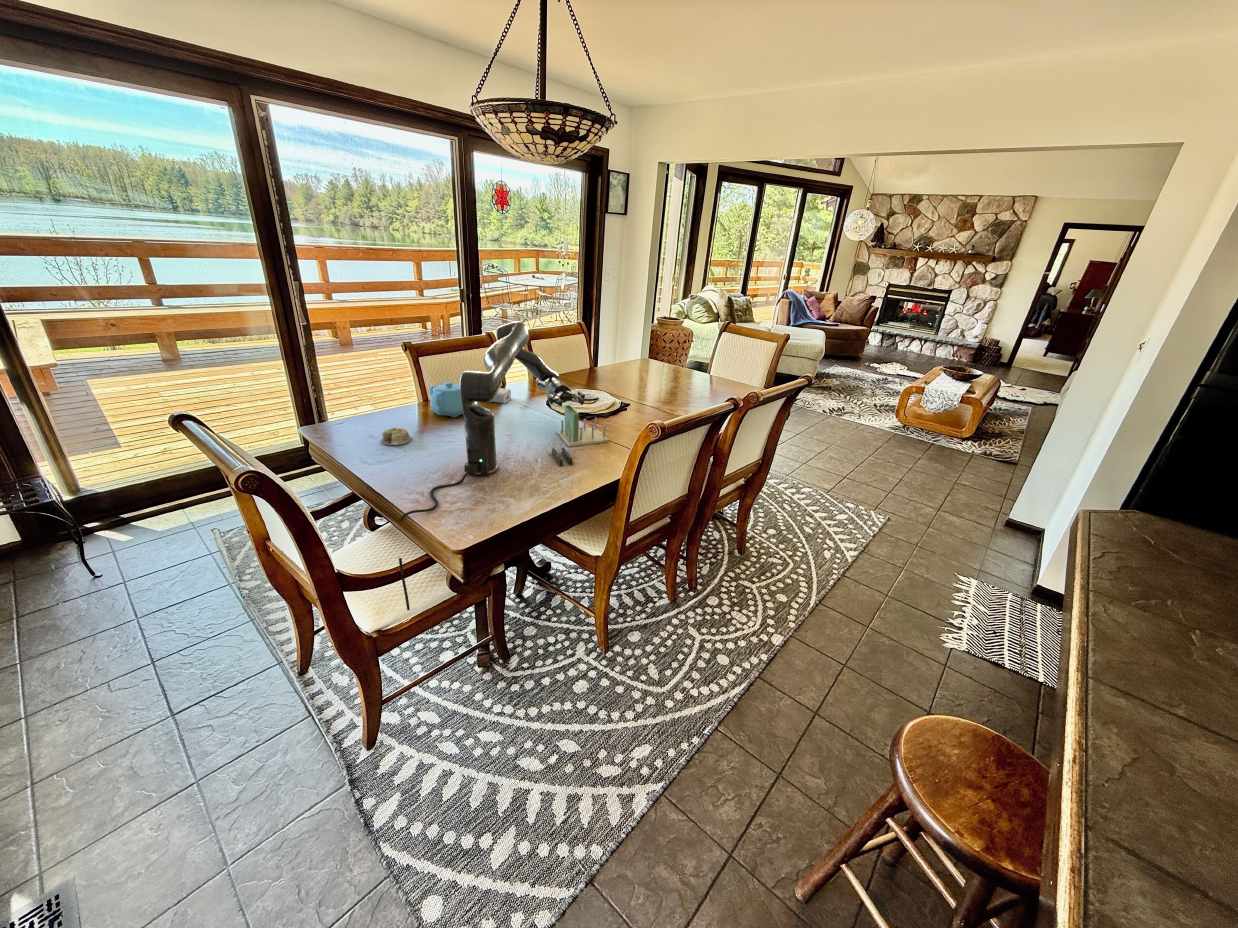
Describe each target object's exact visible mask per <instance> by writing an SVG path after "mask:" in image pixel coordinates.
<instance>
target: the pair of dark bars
mask: <svg viewBox="0 0 1238 928" xmlns="http://www.w3.org/2000/svg"><path fill="white" fill-rule="evenodd" d="M551 455H552V457H553V458H554V460H555V461H556V462H557V464H558V465H559V466H560V467H563V464H564V462H563V461H564V459H565V460H566V462H567V463H568V464H569V465H570V466H572V465H573V457H572V456H571V455H570V453H569V452H568V451H567V449H566V448H565V447H564V446H562V447H561V455H562V457H564V459H563V458H562V457H561V455H560V454H559V452H558V451H557V450H556V449H555V448H554V447H553V448H551Z"/></svg>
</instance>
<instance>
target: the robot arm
mask: <svg viewBox="0 0 1238 928" xmlns="http://www.w3.org/2000/svg"><path fill="white" fill-rule="evenodd" d="M495 337H496V341H495V342H494V343H493V344H491V345H490V346H489V348H488V349H487V350H486V352H485V353H484V356H483V365H484V367H485V368H484V369H485V370H486V371H475V370H464V371H463V372H462V373H461V374H460V377H459V383H458V384H459V388H460V396H461V403H462V412H463V414H462V416H463V423H464V433H465V434H464V435H465V446H466V459H467V462H465V464H464V466H463V467H464V472H465V473H464V475H463V476H462V477H461V479H460V480H458V481H457V482H454V483H450V484H442V485H437V486H434V487H432V488H431V490H430V491H429V496H430V497H431V499H432V500H433V501H434V505H433V506H431V507H430V508H425V509H423V508H422V509H414V510H410V511H407V512H406V513H404V514H402V516H400V518H399V519H398V521H399V522H402V521H403V520H404V519H405V518H406V517H407V516H409V515H411V514H418V513H426V512H432V511H434V510H436V509H437V507H438V506H439V501H438V500H437V498H436V497H435V495H434V494H433V492H434V491H436V490H438V489H443V488H448V487H453V486H458V485H460V484H462V483H463V482H464V481H465V479H466V477H467V476H468V475H470V476H480V477H481V476H482V477H488V476H489V475H492V474H494V473H496V472H497V470H498V464H497V463H498V462H497V447H496V446H497V445H496V429H495V428H496V427H495V426H496V425H495V414H494V412H493V410H490V409H489V408H486V407H485V406H483V405H481V404H480V403H492V402H491V401H493V400H494V399H495V397H496V396H497V393H498V391H499V388H501V385H502V384H503V383H502V382H503V380H504V379H505V377H506V375H507V373H508V372H509V370H510V369H511V367H512V365H513V364H514V362H515V360H517V361H518V362H519V363H521V364H522V366H524V367H525V368H526V369H527V370H528V371H529V373H530V374H531V375H532V376H533V377H534V378H536V380H535V385H536V387H537V389H538V390H540V391H541V392H542V393H546V400H547V402H548V403H549V404H550V405H553V404H555V405H557V406H558V407H560V408H561V407H563V404H565V403H567V402H571V403H578V404H579V405H580V406H583V405H584V404H585V402H586V395H585V394H584V393H583V392H581V391H576V392H572V390H571V388H570V387H569V386H568V385H567V384H565V383H564V382H563V381H561V380H560V375H559V372H557V371H556V370H555V369H553V368H551V367H549V366H548V365H547V364H546V363H545V362H544V360H542V358H541V357H540V356H539V355H537V354H536V353H535V352H532V351H530V350H528V349H525V348H524V347H526V345H527V344H528V342H529V339H530V334H529V329H528V327H527V325H526V324H525V323H524V322H523V321H512V322H509V323H506V324H503V325H500V326H498V327H497V328H496V331H495ZM398 563H399V570H400V571H399V572H400V576H401V575H404V577H403V578H401V582H402V587H403V594H404V598H405V605H406V610H407V611H410V609H411V608H410V601H409V595H408V590H407V585H406V579H405V574H404V573H405V572H404V567H403V558H402V557H398Z"/></svg>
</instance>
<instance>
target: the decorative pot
mask: <svg viewBox="0 0 1238 928" xmlns="http://www.w3.org/2000/svg"><path fill="white" fill-rule="evenodd" d="M428 390H429V394H430V396H431V397H430V399H429V402H430V404H429V405H430V409H431V411H432V412H433V413H435V414H437V416H447V417H450V418H458V416H461V415H463V412H462V403H461V396H460V388H459V383H454V382H453V381H445V382H444V383H442V384H439V385H436V384H434V385H431V386H430V387H429V389H428Z"/></svg>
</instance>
